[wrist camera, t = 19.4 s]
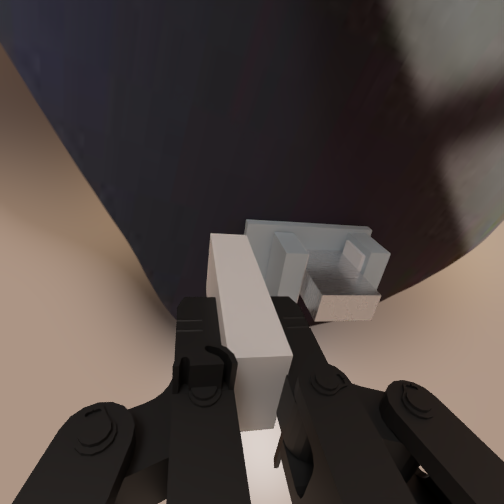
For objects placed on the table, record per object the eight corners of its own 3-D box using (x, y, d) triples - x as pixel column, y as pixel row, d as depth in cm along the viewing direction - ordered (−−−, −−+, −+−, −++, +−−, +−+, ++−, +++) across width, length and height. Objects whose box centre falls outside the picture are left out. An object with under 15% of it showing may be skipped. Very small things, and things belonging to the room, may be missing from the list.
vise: (246, 219, 44) (257, 244, 37) (370, 226, 49) (402, 250, 42) (236, 288, 50) (244, 322, 43) (349, 289, 54) (373, 320, 47)
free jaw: (274, 231, 44) (286, 253, 38) (296, 233, 45) (312, 254, 39) (260, 303, 50) (269, 331, 44) (281, 303, 51) (292, 330, 45)
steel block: (292, 248, 46) (322, 295, 36) (339, 250, 48) (381, 295, 38) (287, 270, 48) (314, 321, 38) (333, 272, 50) (371, 320, 39)
